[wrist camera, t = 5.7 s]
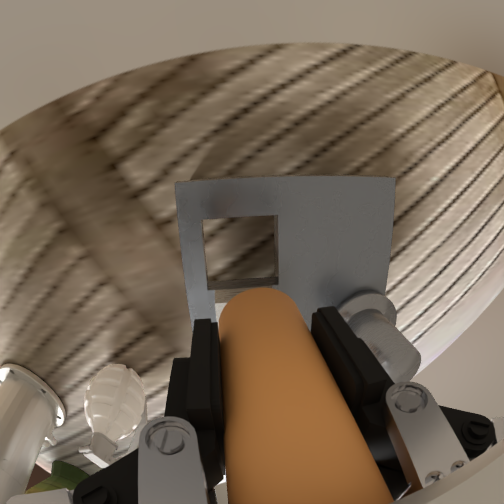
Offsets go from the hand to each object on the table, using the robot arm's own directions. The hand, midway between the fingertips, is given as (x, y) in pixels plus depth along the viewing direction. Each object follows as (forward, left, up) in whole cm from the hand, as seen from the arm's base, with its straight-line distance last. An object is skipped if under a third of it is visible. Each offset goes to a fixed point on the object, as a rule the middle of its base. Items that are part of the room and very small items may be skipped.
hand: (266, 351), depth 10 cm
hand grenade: (-16, +14, -17) cm, 27 cm away
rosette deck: (-4, -4, -17) cm, 18 cm away
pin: (0, 0, -2) cm, 2 cm away
